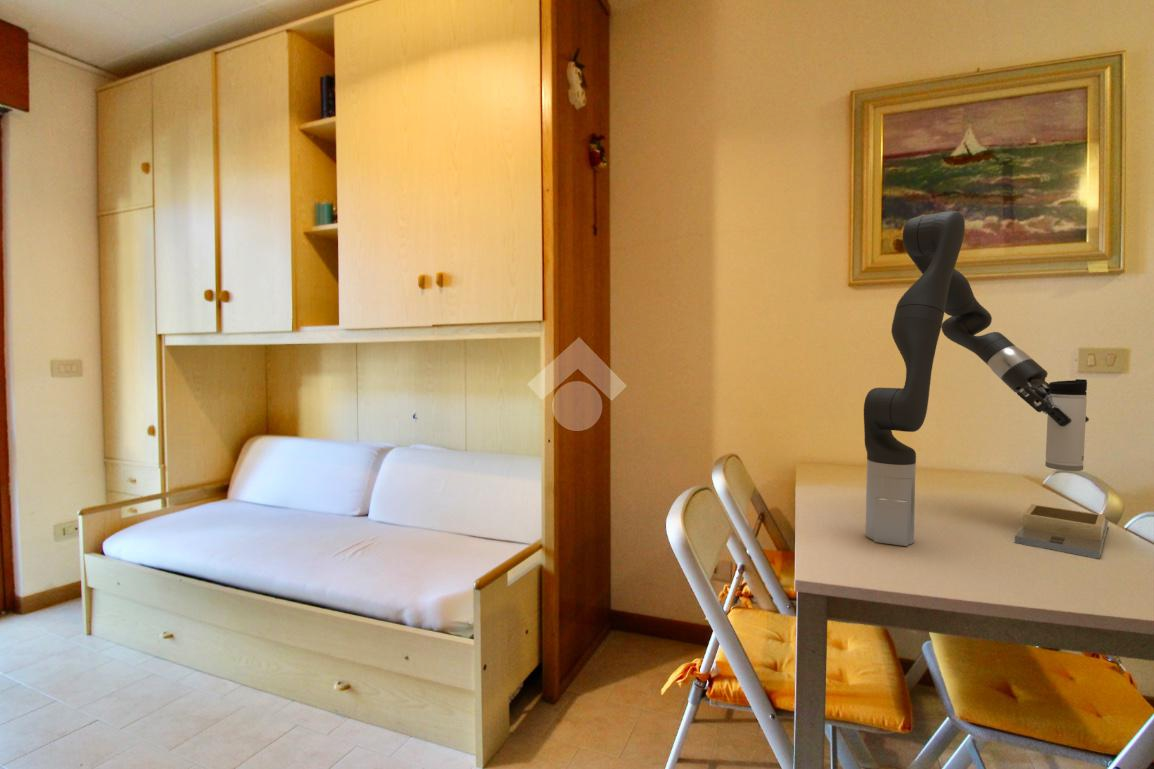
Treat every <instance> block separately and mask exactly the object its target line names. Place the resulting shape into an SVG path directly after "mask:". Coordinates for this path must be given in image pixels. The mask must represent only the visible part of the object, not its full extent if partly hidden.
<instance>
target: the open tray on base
mask: <svg viewBox="0 0 1154 769" xmlns="http://www.w3.org/2000/svg"><path fill="white" fill-rule="evenodd" d="M1022 515H1023V519H1022V520H1023V521H1022V526H1021V527H1020V528H1019V530H1018V531H1017V532H1016V534H1015V535H1014V544H1020V545H1025V546H1031V547H1035V548H1040V547H1041V548H1040V549H1045V548H1047V549H1046V550H1050V549H1053V550H1052V551H1055V550H1058V551H1057V552H1060V551H1063V552H1062V553H1066V552H1067V554H1071V553H1073V554H1072V555H1076V554H1077V556H1081V555H1082V557H1086V556H1088V558H1091V557H1093V559H1097V558H1099V559H1098V560H1100V558H1101V556H1100V555H1102V552H1101V551H1102V550H1103V548H1102V547H1103V546H1104V544H1103V543H1105V540H1106V536H1107V532H1108V529H1107V528H1109V520H1108V519H1107V520H1106V514H1101V513H1095V512H1094V513H1093V512H1088V511H1083V510H1082V511H1081V510H1074V509H1067V508H1060V507H1055V506H1048V505H1042V504H1041V505H1040V504H1034V503H1031V504H1030V506H1029V507H1028V508H1027V510H1026V511H1025V512H1024V513H1023V514H1022ZM1104 539H1105V540H1104Z"/></svg>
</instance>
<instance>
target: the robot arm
mask: <svg viewBox="0 0 1154 769" xmlns="http://www.w3.org/2000/svg"><path fill="white" fill-rule="evenodd" d="M965 229H966V221H965V218H964V215H963V214H962V213H961V212H960V211H957V210H948V211H947V210H946V211H941V212H936V213H931V214H924V215H920V216H915V217H911V218H910V219H908V220H907V221H906V223H905V225H904V226H903V230H902V237H901V238H902V244H903V247H904V250H905V251H906V252H905V253H906V254H907V255H908V256H909V258H910V259H911V260H912V262H913V263H914V265H915V266H916V268H917V269H918V270H919V271H920V273H921V274H922V275H921V276H920V277H919V278H918V279H917V280H916V281H915V282H914V283H913V284H912V285H911V286H910V287H908V289H907V290H906V291H905V292H904V294H903V295H902V296H901V297H900V299H899V300H898V302H897V304H896V307H895V311H894V315H893V319H892V324H891V332H890V333H891V336H892V339H893V342H894V343H895V346H896V347H897V349H898V351H899V353H900V355H901V356H902V359H903V362H904V366H905V369H906V370H905V372H906V373H905V381H904V382H905V383H904V385H903V387H874V388H872V389H871V390H869V391H868V392H867V394H866V395H865V399H864V402H863V428H864V432H863V433H864V446H865V450H866V483H865V487H866V488H865V489H866V492H865V494H866V495H865V536H866V537H867V538H868V539H870V540H872V541H873V542H874V543H881V544H887V545H895V546H903V547H908V546H909V545H913V543H915V512H916V510H915V509H916V508H915V507H916V506H915V505H916V504H915V503H916V469H917V468H916V465H917V464H916V463H917V454H916V451H915V449H914V448H912V447H911V446H908V445H907V444H904V443H903V442H901V441H900V440H898V439H897V438H896V437H895V436H894V434H893V431H895V432H896V431H897V432H907V433H908V432H910V433H914V432H917V431H919V430H920V429H921V427H923V425H924V422H925V420H926V416H927V414H928V413H927V411H928V406H929V397H930V391H931V390H930V386H931V382H932V381H931V379H932V371H933V365H934V360H935V355H936V350H937V345H938V341H939V337H940V333H941V331H942V334H943V335H944V336H945V338H947V339H948V340H950V341H952V342H953V343H955V344H957V345H959V346H962V347H963V348H965V349H967V350H969V351H970V352H972V353H974V354H975V355H976V356H978V357H979V359H981V360H982V361H983V362H984V364H986V365H987V366H988V367H989V368H990V370H991V371H992V372H993V373H994V374H995V376H997V377H998V378H999V379H1000V380H1001V381H1002V382H1003V383H1004V384H1006V385H1007V387H1008V388H1010V390H1011V391H1013V392H1014V393H1016V395H1017V396H1019V397H1020V398H1021V399H1022V400H1023V401H1025V403H1027V404H1028V405H1029V406H1030V407H1032V408H1033V409H1034V411H1036V412H1037V413H1041V412H1042V413H1043V414H1045V415H1047V416H1048V415H1049V416H1050V417H1051V418H1052V419H1053V420H1054V421H1055V422H1057V423H1058V424H1059V425H1060V426H1066V425H1068V424H1069V423H1070V422H1071V421H1072V420H1071V419H1070V418H1069V417H1068V416H1067V415H1066V414H1065V413H1063V412H1062V411H1061V410H1060V409H1059V408H1056V407H1057V406H1056V405H1055V404H1054V402H1053V401H1052V396H1051V395H1050V393H1049V391H1050V389H1049V382H1047V381H1046V378H1047V377H1048V370H1046V369H1045V368H1043V367H1042V366H1041V365H1040V364H1039V363H1038V362H1036V361H1035V360H1034V359H1033V358H1032V357H1031V356H1030V355H1028V354H1027V353H1026V352H1025V351H1024V350H1022V349H1021V348H1020V347H1017V346H1016V345H1015V344H1014V343H1013V342H1012V341H1011V340H1009V339H1008V338H1007V337H1006V336H1005V335H1004V334H1003V333H1001V332H998V331H992V332H989V333H986V334H982V335H978V334H979V333H980V332H983V331H984V330H986V329H987V328H989V327H990V326H991V323H992V320H993V317H992V315H991V313H990V312H989V311H988V310H987V308H985V307H984V306H983V305H981V304H980V302H979V301H978V299H976V297H975V295H974V292H973V289H972V287H971V284H970V283H969V280H968V279H967V278H966V276H965V275H963V273H961V272H960V271H959V270H957V269H956V268H955V267H956V264H957V261H958V258H959V255H960V251H961V249H962V246H963V240H964V237H965ZM945 314H946V316H947V315H948V316H950V317H948V318H946V319H945V320H944V316H945ZM1089 421H1090V419H1089V417H1088V416H1087V415H1086V422H1085V424H1086V423H1088V422H1089Z"/></svg>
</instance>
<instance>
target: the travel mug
mask: <svg viewBox="0 0 1154 769" xmlns="http://www.w3.org/2000/svg"><path fill="white" fill-rule="evenodd" d="M1048 384H1049V389H1050V391H1049V393H1050V395H1051V396H1052V401H1053V402H1054V404H1055V405H1056V406H1057V407H1056V408H1059V409H1060V410H1061V411H1062V412H1063V413H1065V414H1066V415H1067V416H1068V417H1069V418H1070V419H1071V420H1072V421H1071V422H1070V423H1069V424H1068V425H1066V426H1060V425H1059V424H1058V423H1057V422H1055V421H1054V420H1053V419H1052V418H1051V417H1050V416H1049V415H1048V414H1047V420H1046V421H1047V422H1046V440H1045V442H1046V443H1045V464H1044V466H1045V467H1047V468H1048V469H1052V470H1059V471H1067V472H1069V471H1070V472H1081V471H1083V470H1084V459H1085V437H1086V423H1087V422H1086V416H1087V397H1088V396H1087V394H1088V393H1087V390H1088V381H1087V379H1084V378H1083V379H1082V378H1081V379H1077V378H1076V379H1074V380H1072V379H1071V380H1058V381H1052V382H1048ZM1085 422H1086V423H1085Z"/></svg>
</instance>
